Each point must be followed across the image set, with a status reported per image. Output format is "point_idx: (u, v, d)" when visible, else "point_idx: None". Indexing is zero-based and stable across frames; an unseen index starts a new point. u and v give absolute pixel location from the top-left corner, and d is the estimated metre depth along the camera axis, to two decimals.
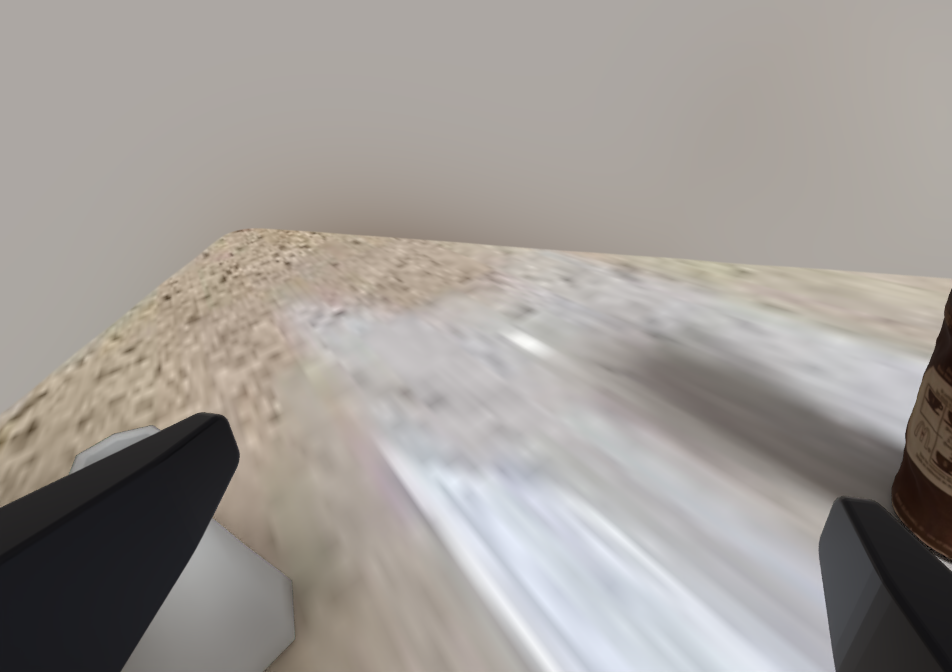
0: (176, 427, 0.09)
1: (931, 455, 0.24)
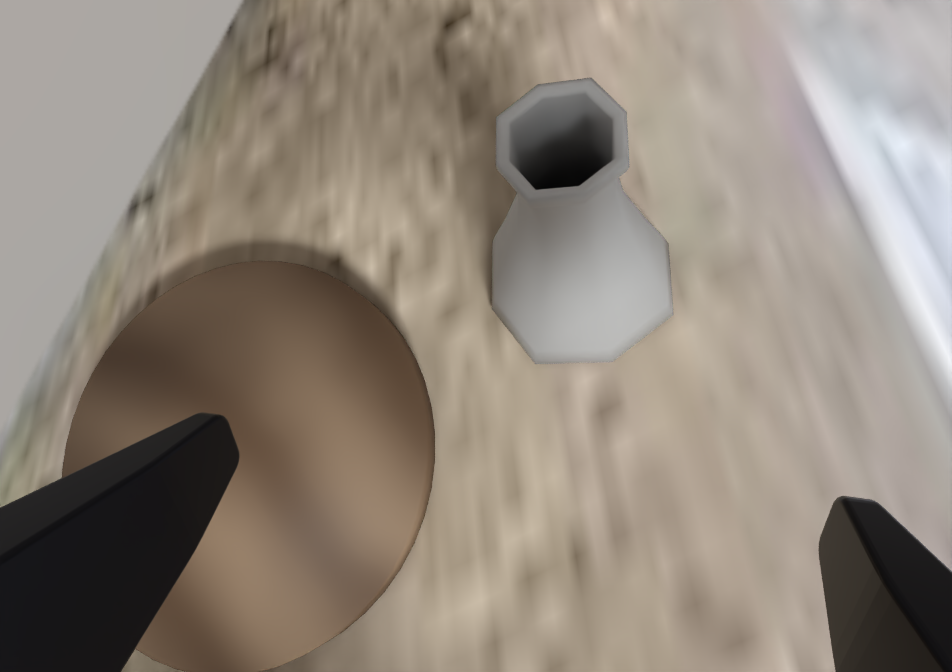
0: (177, 427, 0.09)
1: None
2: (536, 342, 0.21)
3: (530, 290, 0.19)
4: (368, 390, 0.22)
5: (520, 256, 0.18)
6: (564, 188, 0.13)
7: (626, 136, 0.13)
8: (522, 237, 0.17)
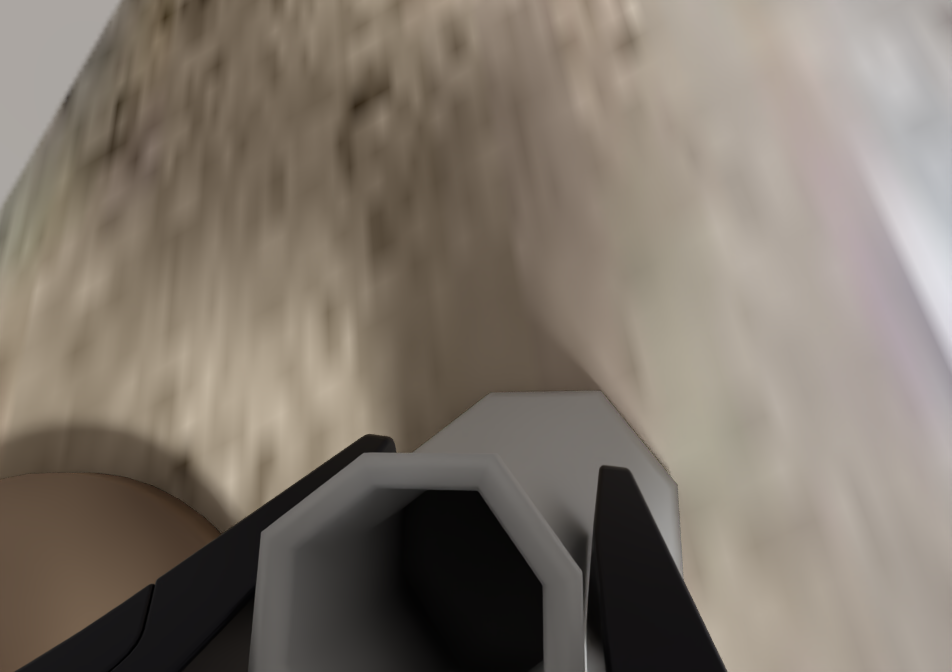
0: (351, 451, 0.08)
1: None
2: None
3: None
4: None
5: (408, 604, 0.10)
6: None
7: (578, 661, 0.05)
8: (400, 611, 0.09)
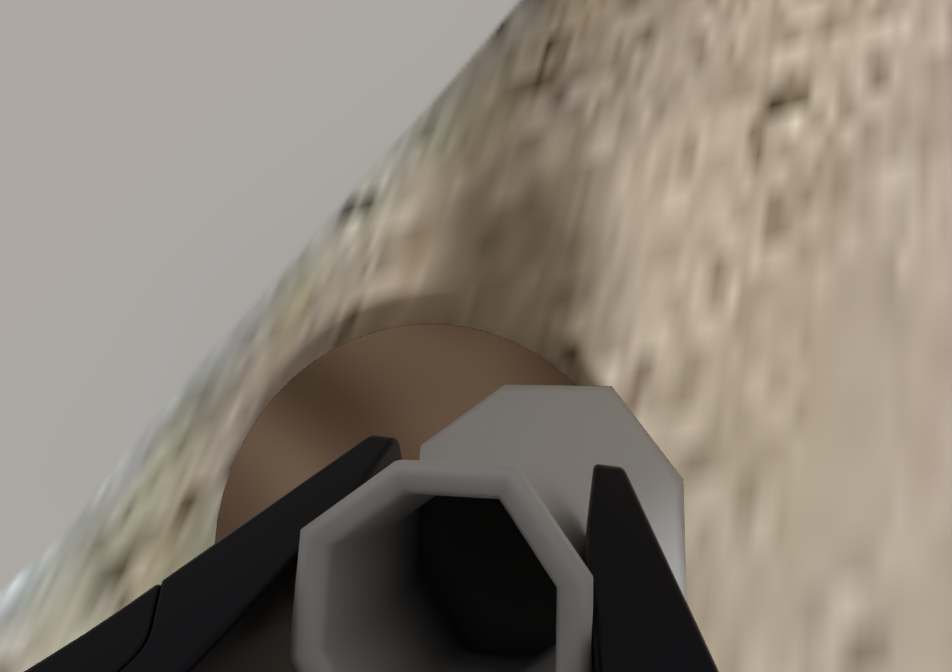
0: (356, 452, 0.08)
1: None
2: None
3: None
4: None
5: (425, 588, 0.11)
6: None
7: (587, 657, 0.05)
8: (418, 596, 0.09)
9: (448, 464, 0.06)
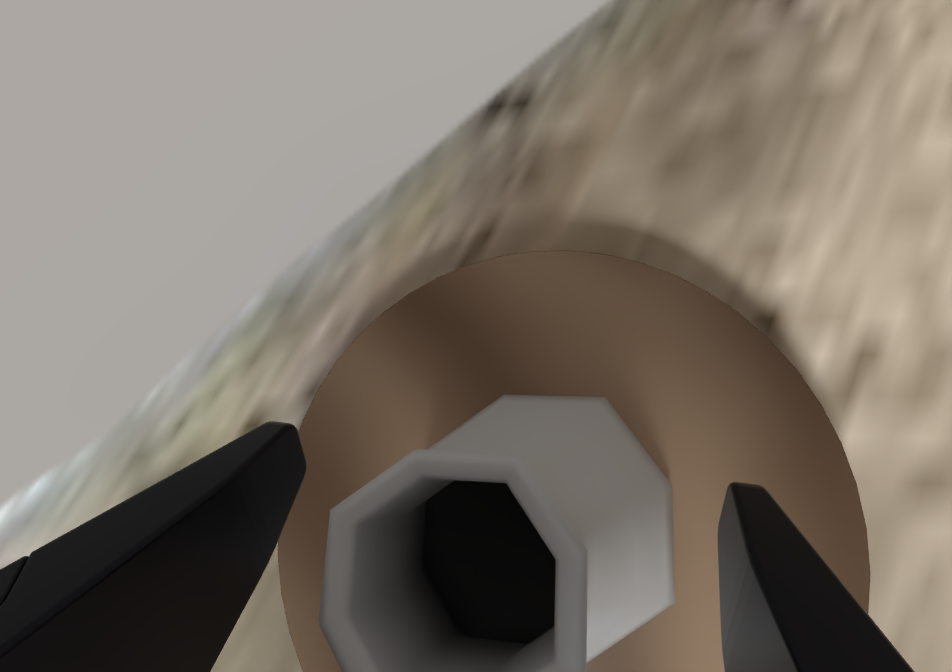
0: (249, 438, 0.08)
1: None
2: None
3: None
4: None
5: (430, 581, 0.11)
6: None
7: (582, 617, 0.06)
8: (425, 585, 0.10)
9: (462, 452, 0.07)
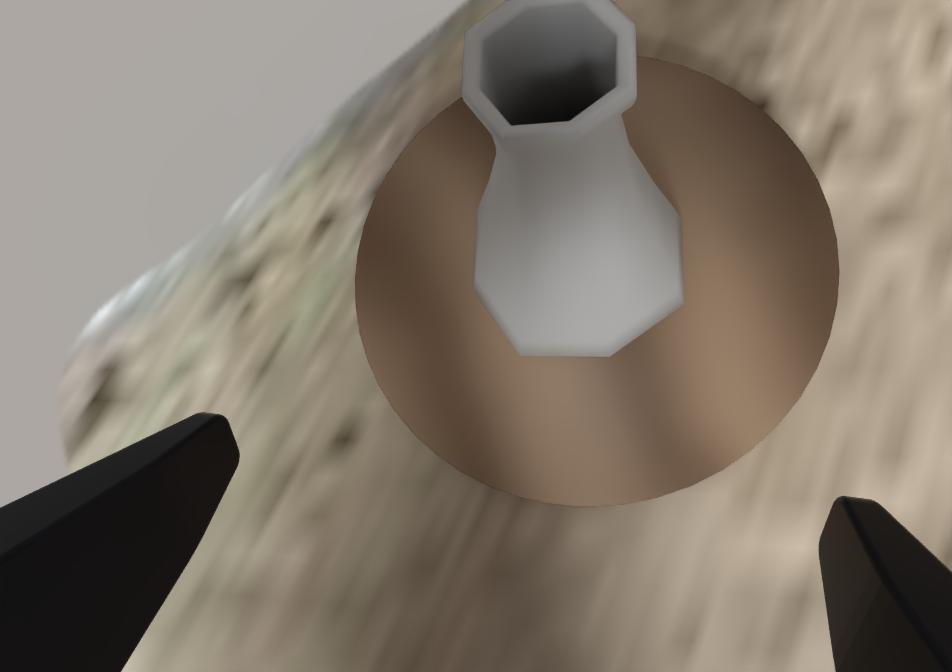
0: (176, 427, 0.09)
1: None
2: (521, 330, 0.18)
3: (513, 267, 0.16)
4: (770, 262, 0.18)
5: (501, 224, 0.15)
6: (549, 124, 0.10)
7: (634, 56, 0.10)
8: (503, 199, 0.14)
9: None
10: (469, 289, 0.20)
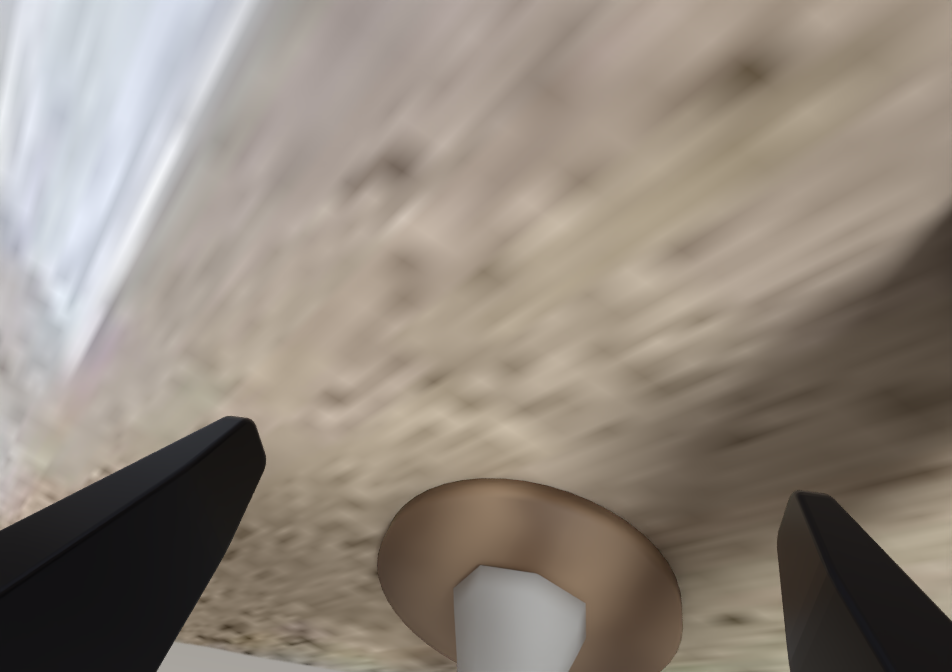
0: (206, 431, 0.09)
1: None
2: (572, 633, 0.27)
3: None
4: (425, 545, 0.30)
5: None
6: None
7: None
8: None
9: None
10: (588, 634, 0.30)
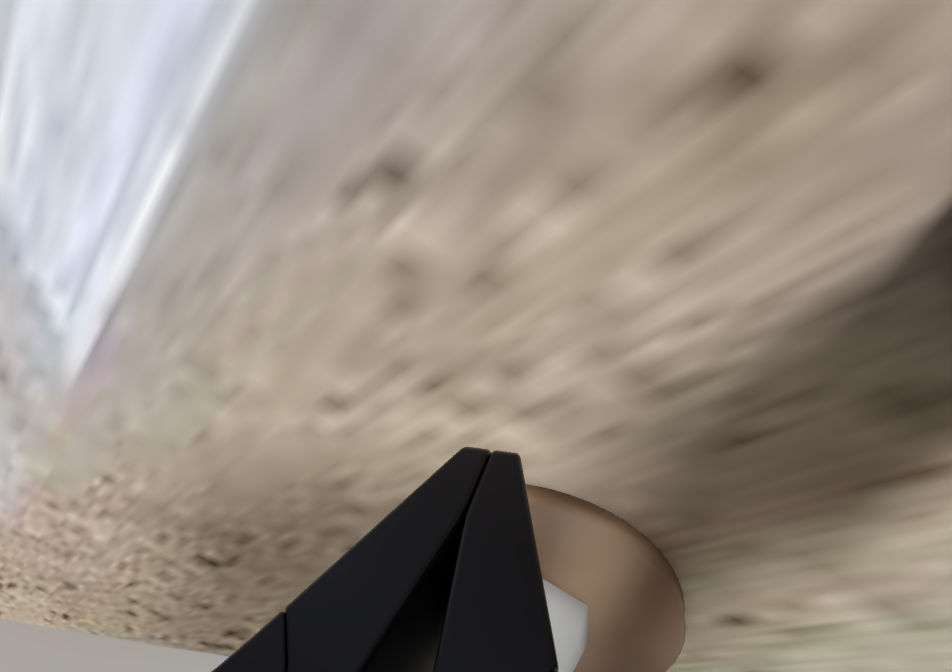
0: (454, 466, 0.08)
1: None
2: (575, 636, 0.27)
3: None
4: None
5: None
6: None
7: None
8: None
9: None
10: (591, 637, 0.30)
